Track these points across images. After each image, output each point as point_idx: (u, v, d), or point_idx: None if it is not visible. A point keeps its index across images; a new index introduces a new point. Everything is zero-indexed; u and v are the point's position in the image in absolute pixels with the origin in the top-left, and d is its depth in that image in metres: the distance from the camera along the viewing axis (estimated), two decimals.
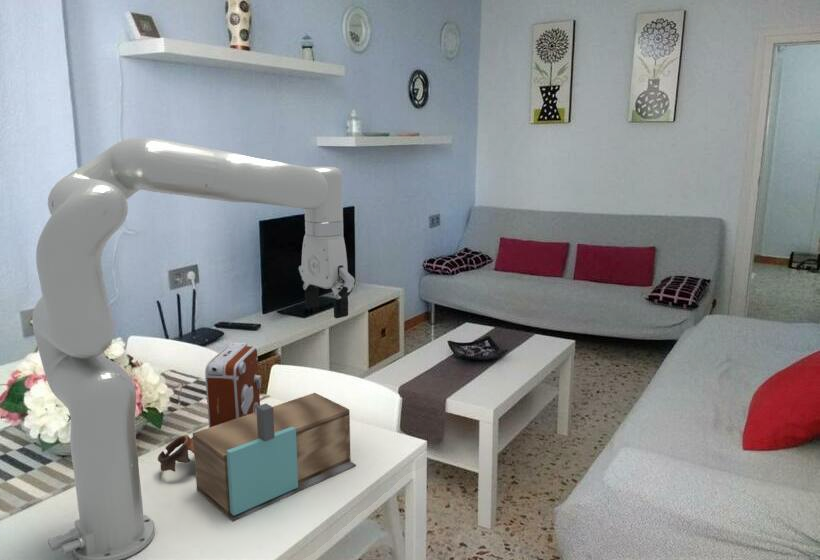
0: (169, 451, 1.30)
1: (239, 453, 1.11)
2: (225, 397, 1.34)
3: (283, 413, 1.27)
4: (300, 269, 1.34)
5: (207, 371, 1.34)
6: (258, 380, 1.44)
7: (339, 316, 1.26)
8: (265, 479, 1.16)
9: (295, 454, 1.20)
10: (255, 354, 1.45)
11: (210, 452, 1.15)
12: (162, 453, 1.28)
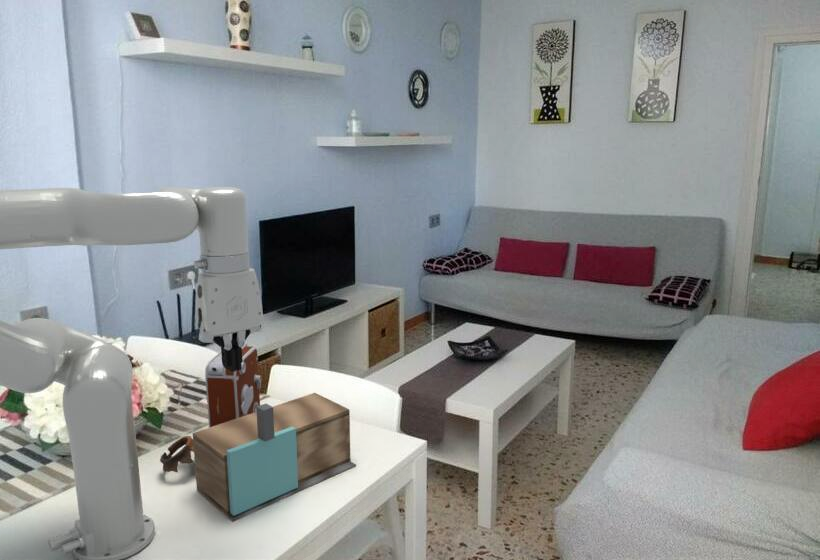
0: (171, 452, 1.29)
1: (239, 453, 1.11)
2: (225, 397, 1.34)
3: (283, 413, 1.27)
4: (206, 339, 1.03)
5: (207, 371, 1.34)
6: (258, 380, 1.44)
7: None
8: (265, 479, 1.16)
9: (295, 454, 1.20)
10: (255, 354, 1.45)
11: (210, 452, 1.15)
12: (164, 454, 1.27)
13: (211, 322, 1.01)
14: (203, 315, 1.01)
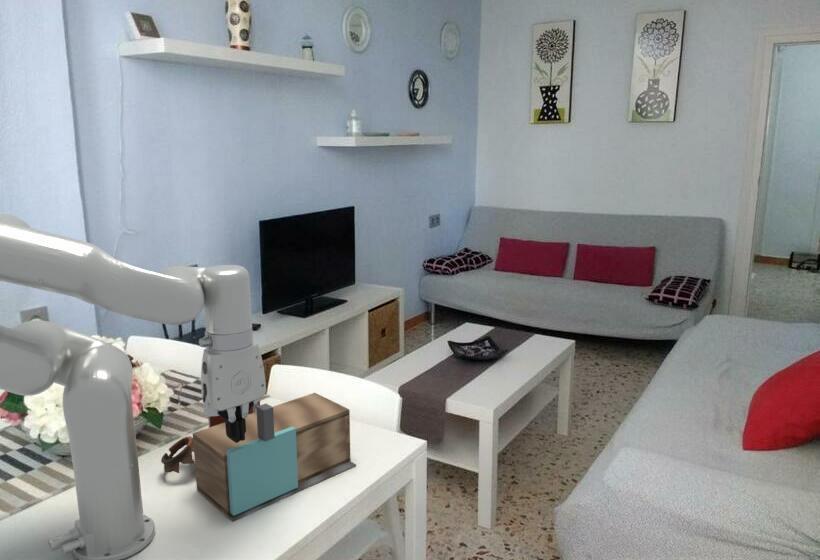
0: (172, 453, 1.29)
1: (239, 453, 1.11)
2: None
3: (283, 413, 1.27)
4: (211, 413, 1.06)
5: None
6: None
7: None
8: (265, 479, 1.16)
9: (295, 454, 1.20)
10: None
11: (210, 452, 1.15)
12: (165, 455, 1.27)
13: (216, 398, 1.04)
14: (208, 391, 1.04)
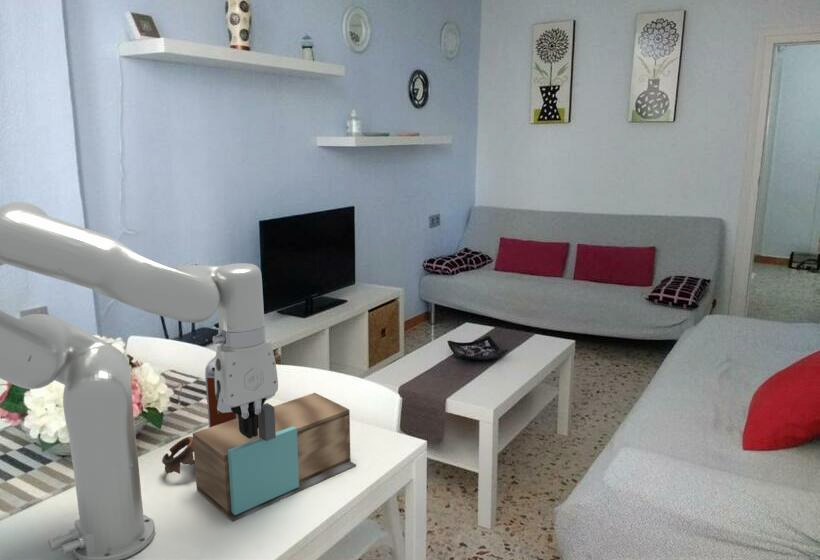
0: (173, 453, 1.29)
1: (240, 453, 1.11)
2: None
3: (283, 413, 1.27)
4: (224, 409, 1.07)
5: (207, 371, 1.34)
6: None
7: None
8: (266, 479, 1.16)
9: (296, 454, 1.20)
10: None
11: (210, 452, 1.15)
12: (166, 455, 1.27)
13: (229, 394, 1.05)
14: (222, 387, 1.06)
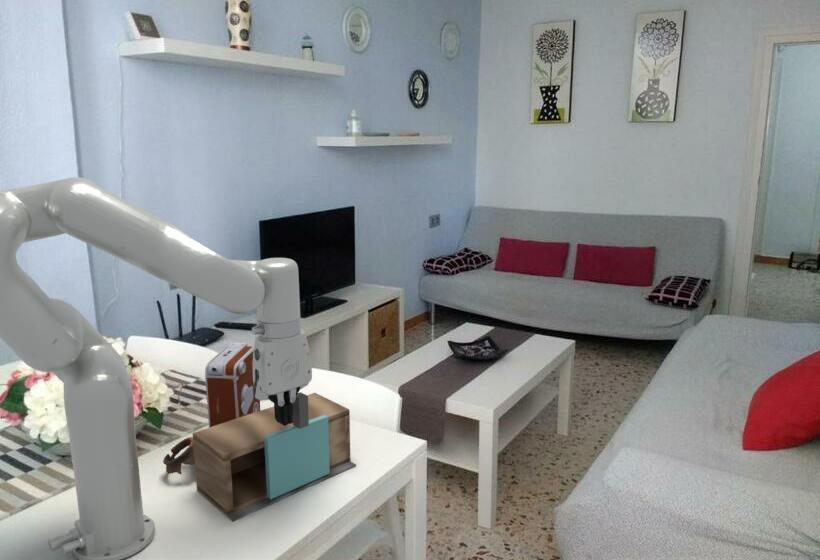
0: (174, 453, 1.29)
1: (276, 439, 1.16)
2: (225, 397, 1.34)
3: None
4: (262, 397, 1.12)
5: (207, 371, 1.34)
6: None
7: None
8: (299, 465, 1.21)
9: (327, 441, 1.25)
10: None
11: (210, 452, 1.15)
12: (167, 456, 1.27)
13: (267, 383, 1.10)
14: (260, 376, 1.11)
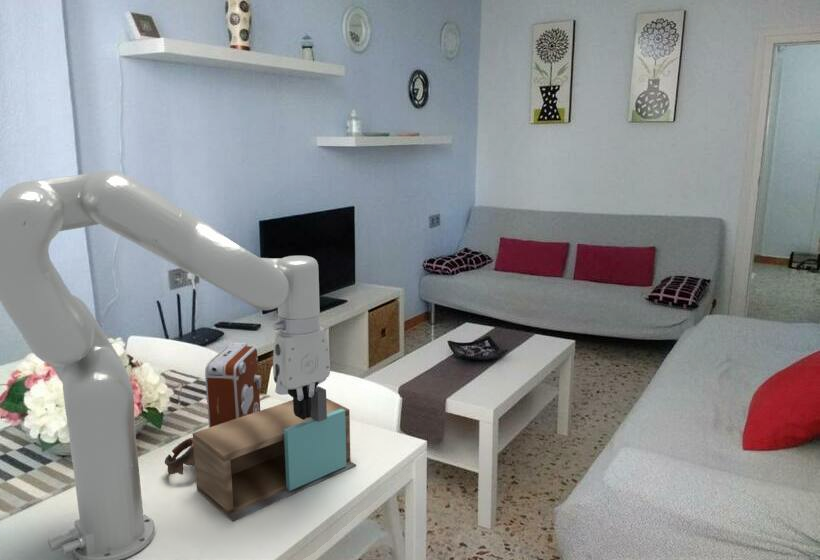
0: (176, 454, 1.28)
1: (295, 432, 1.19)
2: (225, 397, 1.34)
3: (283, 413, 1.27)
4: (282, 391, 1.15)
5: (207, 371, 1.34)
6: (258, 380, 1.44)
7: None
8: (317, 457, 1.24)
9: (344, 434, 1.28)
10: (255, 354, 1.45)
11: (210, 452, 1.15)
12: (169, 456, 1.26)
13: (288, 377, 1.13)
14: (281, 371, 1.14)
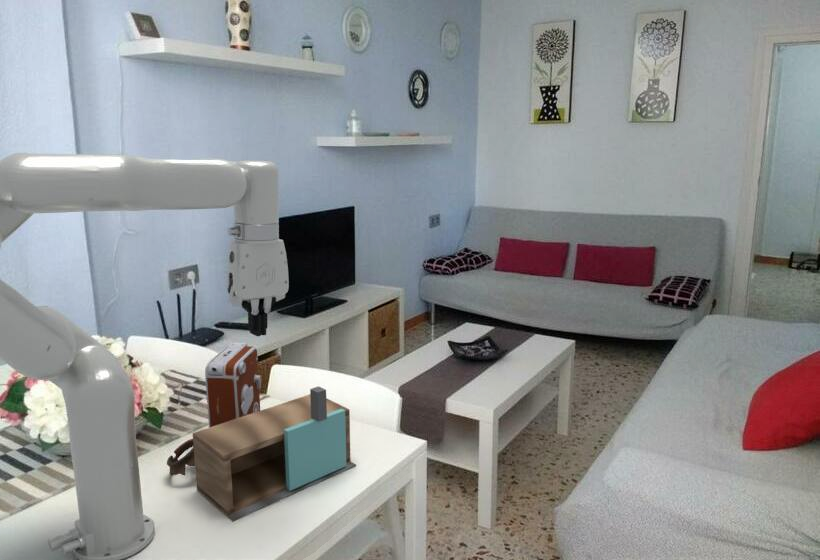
0: (177, 455, 1.28)
1: (295, 432, 1.19)
2: (225, 397, 1.34)
3: (283, 413, 1.27)
4: (235, 302, 1.09)
5: (207, 371, 1.34)
6: (258, 380, 1.44)
7: None
8: (317, 457, 1.24)
9: (344, 434, 1.28)
10: (255, 354, 1.45)
11: (210, 452, 1.15)
12: (171, 457, 1.26)
13: (241, 286, 1.07)
14: (234, 279, 1.08)
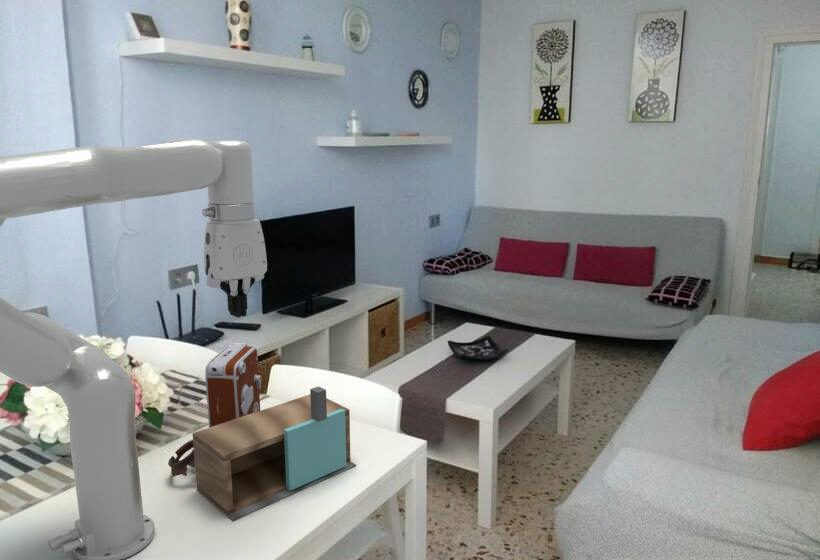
0: (179, 456, 1.28)
1: (295, 432, 1.19)
2: (225, 397, 1.34)
3: (283, 413, 1.27)
4: (213, 284, 1.09)
5: (207, 371, 1.34)
6: (258, 380, 1.44)
7: None
8: (317, 457, 1.24)
9: (344, 434, 1.28)
10: (255, 354, 1.45)
11: (210, 452, 1.15)
12: (172, 458, 1.26)
13: (218, 267, 1.07)
14: (211, 261, 1.07)
